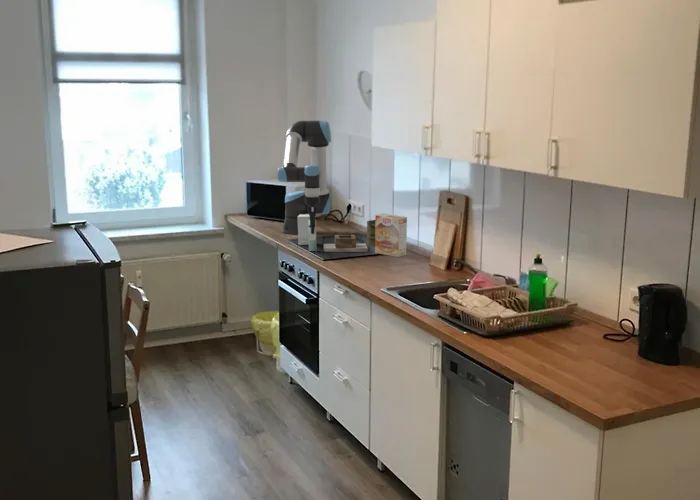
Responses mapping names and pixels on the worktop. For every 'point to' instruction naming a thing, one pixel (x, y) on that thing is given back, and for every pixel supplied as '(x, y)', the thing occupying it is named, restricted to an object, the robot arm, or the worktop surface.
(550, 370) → the worktop surface
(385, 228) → the coffeecake box
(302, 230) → the skincare box
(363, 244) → the socket board
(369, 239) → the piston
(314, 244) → the peg
